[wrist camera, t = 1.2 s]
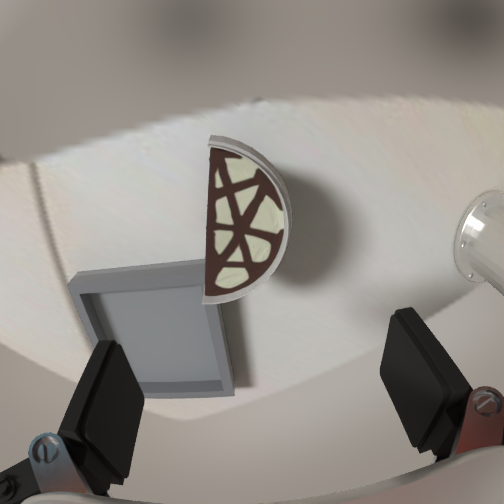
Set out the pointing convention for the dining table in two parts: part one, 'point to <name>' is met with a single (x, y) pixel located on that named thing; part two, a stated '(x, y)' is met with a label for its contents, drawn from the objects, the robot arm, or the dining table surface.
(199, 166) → the dining table surface
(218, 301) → the food container
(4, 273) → the dining table surface
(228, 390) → the tray
